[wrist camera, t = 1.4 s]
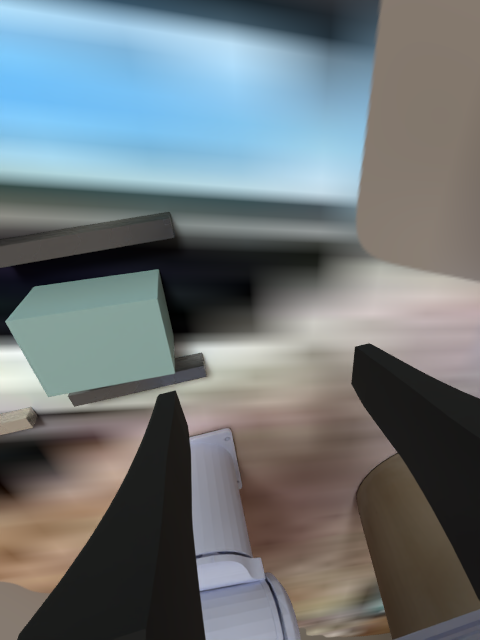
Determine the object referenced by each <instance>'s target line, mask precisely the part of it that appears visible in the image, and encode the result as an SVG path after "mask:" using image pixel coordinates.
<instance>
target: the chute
mask: <svg viewBox="0 0 480 640" xmlns="http://www.w3.org/2000/svg"><path fill="white" fill-rule="evenodd" d="M169 238H174V230H173V225H172V221H171V217H170V212H165V213H159V214H153V215H147V216H141V217H135V218H129V219H123V220H116V221H110V222H104V223H98V224H92V225H86V226H80V227H73V228H67V229H61V230H55V231H49V232H43V233H37V234H30V235H24V236H18V237H12V238H6V239H0V268H1V267H7V266H13V265H19V264H25V263H30V262H36V261H42V260H48V259H54V258H59V257H65V256H71V255H77V254H82V253H88V252H94V251H100V250H106V249H111V248H117V247H123V246H129V245H135V244H140V243H146V242H152V241H158V240H164V239H169ZM202 377H206V371H205V365H204V360H203V356H202V353H198V354H194V355H189V356H184V357H180V358H175V374H170V375H165V376H159V377H154V378H148V379H143V380H138V381H132V382H127V383H121V384H116V385H111V386H105V387H100V388H94V389H89V390H83V391H78V392H73V393H69V395H68V397H69V399H70V400H71V402H72V404H73V405H74V407H75V406H79V405H84V404H88V403H92V402H97V401H101V400H106V399H110V398H114V397H119V396H123V395H128V394H132V393H136V392H141V391H145V390H150V389H154V388H158V387H163V386H167V385H172V384H176V383H180V382H185V381H189V380H194V379H198V378H202ZM37 417H38V416H37V415H36V413H35V412H34V410H33V409H32V408H31V407H29V408H25V409H20V410H16V411H11V412H7V413H3V414H0V435H3V434H7V433H12V432H16V431H20V430H25V429H29V428H33V426H34V424H35V422H36V419H37Z"/></svg>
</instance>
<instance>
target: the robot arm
mask: <svg viewBox="0 0 480 640" xmlns="http://www.w3.org/2000/svg"><path fill="white" fill-rule="evenodd" d="M351 384H352V386H353V388H354V389H355V391H356V393H357V395H358V397H359V399H360V400H361V402H362V404H363V406H364V407H365V408H366V410H367V411H368V413H369V414H370V415H371V417H372V418H373V420H374V421H375V422H376V424H377V425H378V426H379V428H380V429H381V430H382V432H383V433H384V435H385V436H386V437H387V439H388V440H389V441H390V443H391V444H392V445H393V447H394V448H395V449H396V451H397V452H398V454H399V455H400V456H401V458H402V459H403V461H404V462H405V464H406V465H407V467H408V469H409V470H410V472H411V474H412V475H413V477H414V479H415V480H416V482H417V484H418V485H419V487H420V489H421V490H422V492H423V494H424V496H425V497H426V499H427V501H428V503H429V504H430V506H431V508H432V510H433V511H434V513H435V515H436V517H437V519H438V521H439V522H440V524H441V526H442V528H443V530H444V532H445V534H446V535H447V537H448V539H449V541H450V543H451V545H452V547H453V549H454V551H455V553H456V555H457V557H458V559H459V561H460V563H461V565H462V567H463V569H464V571H465V573H466V575H467V577H468V579H469V581H470V583H471V585H472V587H473V589H474V591H475V594H476V596H477V598H478V599H479V601H480V399H479V398H477V397H474V396H472V395H469V394H467V393H465V392H462V391H460V390H458V389H456V388H453V387H451V386H449V385H447V384H445V383H443V382H441V381H439V380H437V379H435V378H433V377H431V376H429V375H427V374H425V373H423V372H421V371H419V370H417V369H415V368H414V367H412V366H410V365H408V364H406V363H404V362H403V361H401V360H399V359H397V358H395V357H394V356H392V355H390V354H388V353H386V352H385V351H383V350H381V349H379V348H377V347H375V346H374V345H372V344H370V343H369V344H365V345H360V346H356V347H355V353H354V363H353V373H352V383H351ZM241 488H242V482H241V477H240V472H239V467H238V462H237V457H236V452H235V447H234V441H233V436H232V432H231V429H229V428H225V429H221V430H217V431H213V432H209V433H205V434H201V435H197V436H193V437H189V431H188V425H187V422H186V419H185V416H184V413H183V411H182V408H181V405H180V402H179V399H178V396H177V393H176V391H172V392H168V393H164V394H159V396H158V397H157V400H156V403H155V407H154V410H153V413H152V416H151V419H150V421H149V424H148V427H147V429H146V432H145V434H144V437H143V439H142V442H141V444H140V447H139V449H138V451H137V454H136V456H135V458H134V460H133V462H132V464H131V466H130V469H129V471H128V473H127V475H126V477H125V479H124V481H123V483H122V485H121V487H120V488H119V490H118V492H117V494H116V496H115V498H114V499H113V501H112V503H111V505H110V506H109V508H108V510H107V511H106V513H105V515H104V516H103V518H102V520H101V521H100V523H99V525H98V526H97V528H96V529H95V531H94V533H93V534H92V536H91V537H90V539H89V540H88V542H87V543H86V545H85V546H84V548H83V549H82V551H81V552H80V553H79V555H78V556H77V558H76V559H75V561H74V562H73V564H72V565H71V566H70V568H69V569H68V571H67V572H66V574H65V575H64V576H63V578H62V579H61V581H60V582H59V583H58V585H57V586H56V587H55V589H54V590H53V591H52V593H51V594H50V595H49V596H48V598H47V599H46V600H45V602H44V603H43V604H42V606H41V607H40V608H39V609H38V611H37V612H36V613H35V615H34V616H33V617H32V619H31V620H30V621H29V622H28V624H27V625H26V626H25V627H24V629H23V630H22V631H21V633H20V634H19V636H18V639H17V640H301V638H300V633H299V628H298V624H297V620H296V616H295V613H294V609H293V606H292V604H291V601H290V599H289V596H288V594H287V592H286V590H285V589H284V587H283V586H282V585H281V583H280V582H279V581H278V580H277V578H276V577H275V576H274V575H273V574H272V573H269V572H267V573H264V569H263V564H262V560H261V558H260V557H258V558H253V555H252V551H251V546H250V541H249V536H248V531H247V526H246V522H245V517H244V512H243V507H242V502H241V497H240V493H239V489H241ZM394 640H480V609H479V610H476V611H473V612H470V613H467V614H464V615H462V616H459V617H456V618H453V619H450V620H448V621H445V622H442V623H439V624H436V625H433V626H431V627H428V628H425V629H422V630H419V631H416V632H414V633H411V634H408V635H405V636H402V637H399V638H397V639H394Z"/></svg>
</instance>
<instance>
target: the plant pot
mask: <svg viewBox="0 0 480 640" xmlns="http://www.w3.org/2000/svg"><path fill="white" fill-rule="evenodd" d="M357 504H358V510H359V514H360V518H361V522H362V526H363V530H364V534H365V537H366V541H367V545H368V549H369V552H370V556H371V560H372V563H373V567H374V571H375V575H376V578H377V582H378V586H379V590H380V594H381V598H382V601H383V605H384V609H385V613H386V617H387V621H388V625H389V628H390V632H391V636H392V640H394V639H397V638H399V637H402V636H405V635H408V634H411V633H414V632H416V631H419V630H422V629H425V628H428V627H431V626H433V625H436V624H439V623H442V622H445V621H448V620H450V619H453V618H456V617H459V616H462V615H464V614H467V613H470V612H473V611H476V610H479V609H480V601H479V599H478V598H477V596H476V594H475V591H474V589H473V587H472V585H471V583H470V581H469V579H468V577H467V575H466V573H465V571H464V569H463V567H462V565H461V563H460V561H459V559H458V557H457V555H456V553H455V551H454V549H453V547H452V545H451V543H450V541H449V539H448V537H447V535H446V534H445V532H444V530H443V528H442V526H441V524H440V522H439V521H438V519H437V517H436V515H435V513H434V511H433V510H432V508H431V506H430V504H429V503H428V501H427V499H426V497H425V496H424V494H423V492H422V490H421V489H420V487H419V485H418V484H417V482H416V480H415V479H414V477H413V475H412V474H411V472H410V470H409V469H408V467H407V465H406V464H405V462H404V461H403V459H402V458H401V456H400V455H399V454H398V453H397V454H396V455H394V456H392V457H390V458H389V459H387V460H385V461H384V462H383V463H381V464H380V465H378V466H377V467H376V468H375V469H374V470H372V471H371V472H370V473H369V474H368V476H367V477H366V478H365V479H364V481H363V482H362V484H361V485H360V487H359V490H358V493H357Z"/></svg>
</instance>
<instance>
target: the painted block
mask: <svg viewBox="0 0 480 640" xmlns="http://www.w3.org/2000/svg"><path fill="white" fill-rule="evenodd" d="M5 322H6V324H7V326H8V327H9V329H10V331H11V333H12V334H13V336H14V338H15V340H16V341H17V343H18V345H19V347H20V348H21V350H22V352H23V354H24V355H25V357H26V359H27V361H28V362H29V364H30V366H31V368H32V369H33V371H34V373H35V375H36V376H37V378H38V380H39V382H40V383H41V385H42V387H43V389H44V390H45V392H46V394H47V396H48V397H51V396H56V395H62V394H67V393H73V392H78V391H83V390H89V389H94V388H100V387H105V386H111V385H116V384H121V383H127V382H132V381H138V380H143V379H148V378H154V377H159V376H165V375H170V374H175V356H174V336H173V331H172V327H171V322H170V318H169V313H168V309H167V304H166V300H165V295H164V291H163V286H162V282H161V277H160V273H159V269H158V270H151V271H144V272H137V273H129V274H122V275H115V276H108V277H101V278H94V279H86V280H79V281H72V282H65V283H58V284H50V285H43V286H36V287H34V288H33V289H32V290H31V291H30V293H29V294H28V295H27V296H26V297H25V299H24V300H23V301H22V302H21V303H20V305H19V306H18V307H17V308H16V309H15V311H14V312H13V313H12V314H11V315H10V317H9V318H8V319H7V320H6V321H5Z"/></svg>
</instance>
